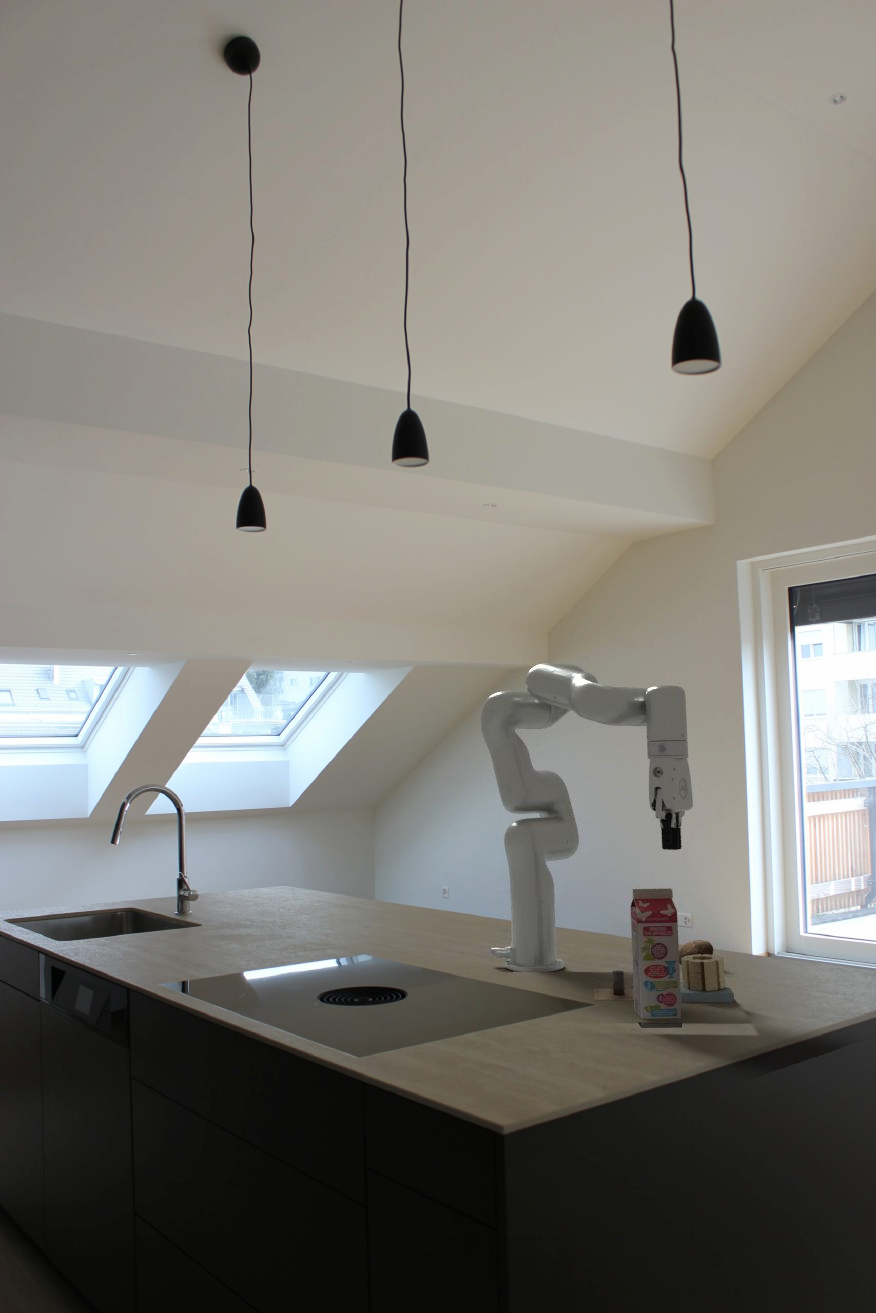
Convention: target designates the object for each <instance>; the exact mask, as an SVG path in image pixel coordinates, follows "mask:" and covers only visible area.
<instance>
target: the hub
mask: <svg viewBox="0 0 876 1313" xmlns="http://www.w3.org/2000/svg"><path fill="white" fill-rule="evenodd" d="M680 990H681V1003H735V993H734V991H733V990H732V989H731V988H730V986H729V985H728V984H727V983H726V982H725V988H723V989H721V990H719V989H718V990H715V991H705V990H704V991H695V990H690V989H686V988H684V987H683V981H680Z"/></svg>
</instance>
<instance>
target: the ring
mask: <svg viewBox="0 0 876 1313" xmlns="http://www.w3.org/2000/svg"><path fill="white" fill-rule="evenodd" d="M681 961H682V966H681V970H682V971H681V972H682V982H683V987H684V988H686V989H690V990H695V991H704V990H705V991H715V990H718V989H719V990H721V989H723V988H725V983H726V977H725V964H724V963H725V962H724V957H722V956H720V955H716V954H713V955H707V954H704V955H701V954H698V955H689V956H684V957H682V958H681Z"/></svg>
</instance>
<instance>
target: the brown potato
mask: <svg viewBox="0 0 876 1313" xmlns="http://www.w3.org/2000/svg"><path fill="white" fill-rule="evenodd" d="M698 954H701V955H704V954H707V955H714V947H713V945H712V943H711V942H710V941H707V940H703V939H697V940H696V939H695V940H692V941H687V942H686V943H685V944H683V945H682V946H681V947H680V948H679V966H681V967H682V961H681V958H682V957H684V956H689V955H698Z"/></svg>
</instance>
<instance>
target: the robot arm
mask: <svg viewBox="0 0 876 1313" xmlns="http://www.w3.org/2000/svg"><path fill="white" fill-rule="evenodd" d="M524 683H525V688H526V691H525V690H503V691H498V692H495V693H493V694H491V695H489V697H488V698H487V699H486V700H485V701H484V703H483V706H482V709H481V712H480V713H481V714H480V728H481V733H482V736H483V739H484V742H485V744H486V747H487V749H488V752H489V755H490V757H491V761H492V766H493V770H494V775H495V779H496V783H497V788H498V791H499V792H498V793H499V796H500V799H501V802H502V806H503V807H504V809H505V810H506V811H507V812H509V813H511V814H513V815H514V814H518V815H528V814H539V817H530V818H528V817H527V818H521V819H518V820H516V821H514V822H512V823H511V824H510V825H509V826H508V827H507V828H506V830H505V832H504V838H503V843H504V849H505V854H506V859H507V863H508V864H507V865H508V872H509V887H510V888H509V895H510V921H511V922H510V925H511V926H510V927H511V930H510V931H511V942H510V945H509V946H505V948H504V947H503V948H502V947H501V948H500V947H491V948H490V950H491V955H490V956H491V957H492V958H496V959H503V958H505V959H507V960H505V962H504V966H505V968H506V969H508V970H510V971H515V972H520V973H521V972H523V973H543V972H544V973H548V972H554V971H555V972H556V971H559V970H562V969H563V968H565V962H564V960H562V959H560V958H558V957H557V936H556V935H557V934H556V932H557V931H556V902H555V883H554V878H553V875H552V873H551V871H550V869H549V867H548V865H547V863H546V862H553V861H554V862H555V861H556V862H557V861H563V860H567V859H570V858H571V857H573V856H574V855H575V854H576V853H577V850H578V847H579V844H580V843H579V842H580V836H579V830H578V825H577V822H576V818H575V815H574V809H573V807H572V803H571V798H570V794H569V791H568V787H567V785H566V783H565V781H564V780H563V779H562V777H561V776H560V775H559V774H558V773H556V772H554V771H551V770H546V769H545V770H536V769H535V768H534V766H533V762H532V760H531V757H530V751H529V749H528V747H527V745H526V743H525V742H524V740H523V739H522V738H521V737H520V736H519V735H518V734H517V732H516V729H518V730H519V729H523V730H542V729H548V728H550V727H552V726H554V725H555V724H557V723H558V722H559V721H560V720H561V719H562V718H564V717H565V716H566V715H567V714H569V712H571V711H572V712H574V713H575V714H576V715H577V716H578V717H580V718H582V719H585V720H588V721H591V722H592V721H593V722H596V723H600V724H602V725H606V726H613V727H614V726H615V727H623V726H624V727H645V728H646V747H647V751H646V752H647V760H649V765H648V766H649V769H648V770H649V771H648V799H649V800H648V801H649V807H650V809H651V810H652V811H653V812H655V818H656V819H658V820H659V827H660V829H661V848H662V850H665V851H666V850H669V851H678V850H681V849H682V846H683V845H682V818H683V817H684V816H685V812H687V811H690V810H692V808H693V807H694V801H693V799H694V798H693V789H692V777H691V772H690V766H689V762H688V759H689V749H688V748H689V747H688V745H689V744H688V725H687V724H688V721H687V720H688V719H687V700H686V691H685V689H684V688H683V687H681V686H679V685H655V686H651V687H648V688H646V687H641V688H640V687H628V686H626V687H625V686H611V685H605V684H601V683H599V681H598V679H597V678H596V677H595V676H594V674H592V673H590V672H586V671H584V670H583V669H582V668H581V667H579V666H577V665H574V664H565V663H554V662H553V663H552V662H550V663H549V662H544V663H539V664H537V665H534V666H533V667H532V668H531V669H530V670H529V671H528V672H527V674H526V676H525V682H524Z"/></svg>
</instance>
